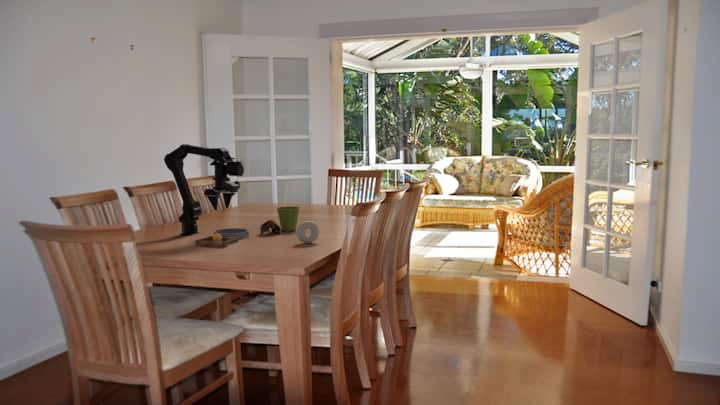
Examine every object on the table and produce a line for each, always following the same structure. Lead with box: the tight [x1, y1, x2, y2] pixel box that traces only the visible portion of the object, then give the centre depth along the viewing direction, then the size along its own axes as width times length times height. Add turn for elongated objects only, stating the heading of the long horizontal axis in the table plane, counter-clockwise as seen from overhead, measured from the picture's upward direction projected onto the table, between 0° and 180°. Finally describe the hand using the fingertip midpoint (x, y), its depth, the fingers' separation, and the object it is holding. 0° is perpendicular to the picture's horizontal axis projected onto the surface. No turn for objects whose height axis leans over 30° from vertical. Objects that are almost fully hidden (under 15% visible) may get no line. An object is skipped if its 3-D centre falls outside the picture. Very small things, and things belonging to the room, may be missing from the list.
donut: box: [296, 220, 320, 244], centre depth 260 cm, size 10×4×10 cm, turn 111°
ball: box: [212, 234, 222, 242], centre depth 258 cm, size 4×4×4 cm
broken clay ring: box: [259, 219, 283, 236], centre depth 281 cm, size 12×10×8 cm
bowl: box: [213, 227, 250, 240], centre depth 273 cm, size 15×15×3 cm
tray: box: [195, 235, 239, 249], centre depth 258 cm, size 14×11×2 cm
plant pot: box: [275, 205, 301, 232], centre depth 294 cm, size 12×12×11 cm
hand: (221, 209), depth 276 cm, fingers open, 9 cm apart
